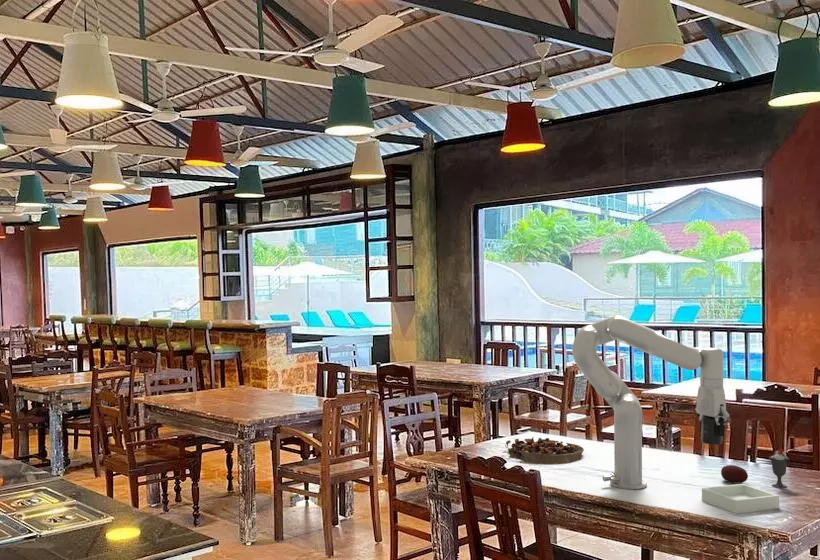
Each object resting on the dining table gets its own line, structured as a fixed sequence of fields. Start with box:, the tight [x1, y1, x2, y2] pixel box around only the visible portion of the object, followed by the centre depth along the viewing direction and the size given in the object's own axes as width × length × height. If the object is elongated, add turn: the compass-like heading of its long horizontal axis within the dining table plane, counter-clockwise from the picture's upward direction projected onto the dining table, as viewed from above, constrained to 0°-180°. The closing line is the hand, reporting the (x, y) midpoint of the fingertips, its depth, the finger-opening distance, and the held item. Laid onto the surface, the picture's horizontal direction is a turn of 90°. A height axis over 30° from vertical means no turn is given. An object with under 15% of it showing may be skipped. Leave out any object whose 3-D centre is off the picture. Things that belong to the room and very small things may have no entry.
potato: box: [720, 464, 749, 484], centre depth 286 cm, size 7×10×6 cm
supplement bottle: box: [700, 415, 723, 446], centre depth 276 cm, size 7×7×12 cm
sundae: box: [768, 445, 790, 489], centre depth 280 cm, size 7×7×15 cm
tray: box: [701, 483, 780, 514], centre depth 258 cm, size 17×16×4 cm
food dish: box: [504, 436, 585, 465], centre depth 333 cm, size 35×33×8 cm
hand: (711, 433), depth 276 cm, fingers closed on supplement bottle, 6 cm apart
